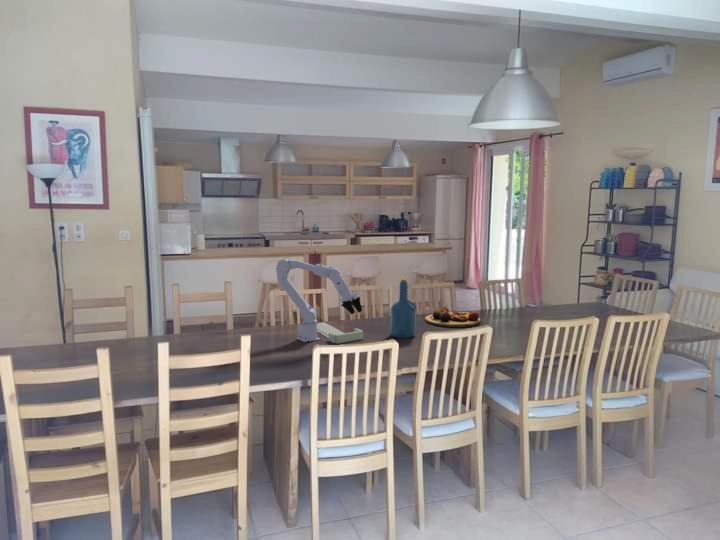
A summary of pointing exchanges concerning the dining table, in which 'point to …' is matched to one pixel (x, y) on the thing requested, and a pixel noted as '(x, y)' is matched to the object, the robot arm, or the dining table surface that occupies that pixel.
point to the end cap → (346, 336)
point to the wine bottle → (403, 315)
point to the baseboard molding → (327, 329)
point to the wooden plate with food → (453, 318)
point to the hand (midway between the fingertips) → (356, 312)
